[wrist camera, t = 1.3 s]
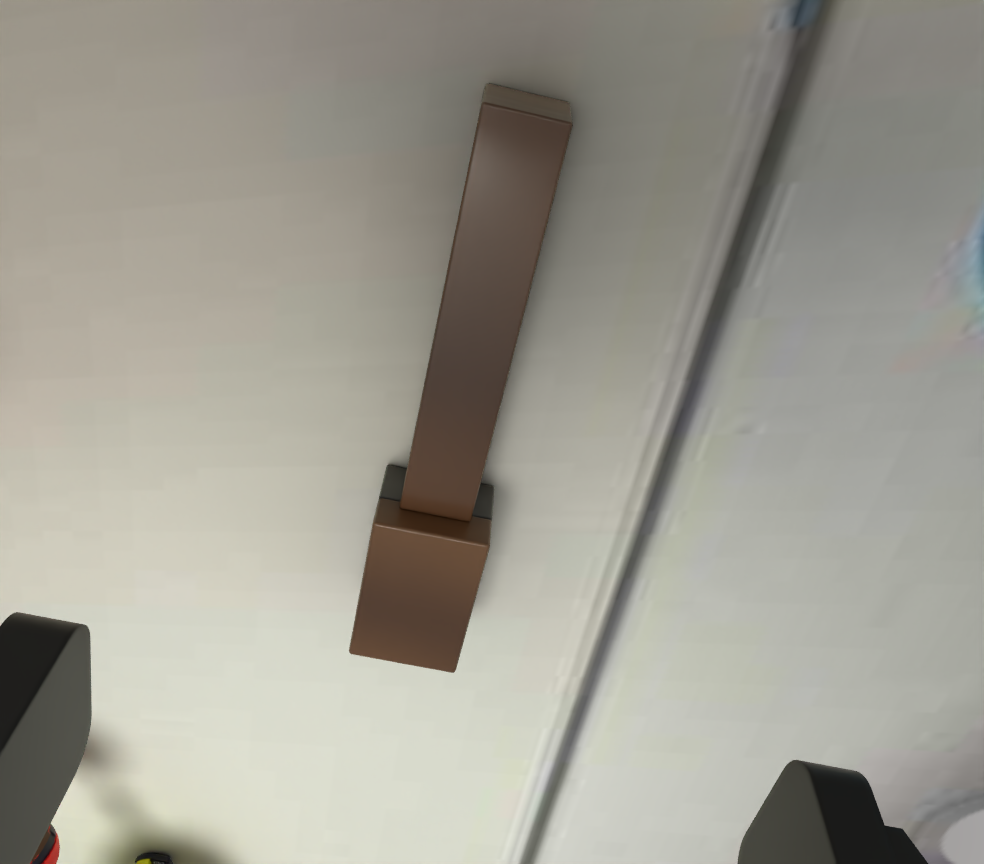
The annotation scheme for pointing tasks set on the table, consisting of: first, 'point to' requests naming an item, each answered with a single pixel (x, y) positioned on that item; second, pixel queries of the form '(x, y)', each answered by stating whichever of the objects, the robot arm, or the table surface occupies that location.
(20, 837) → the robot arm
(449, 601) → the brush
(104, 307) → the table surface
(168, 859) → the toy figure
